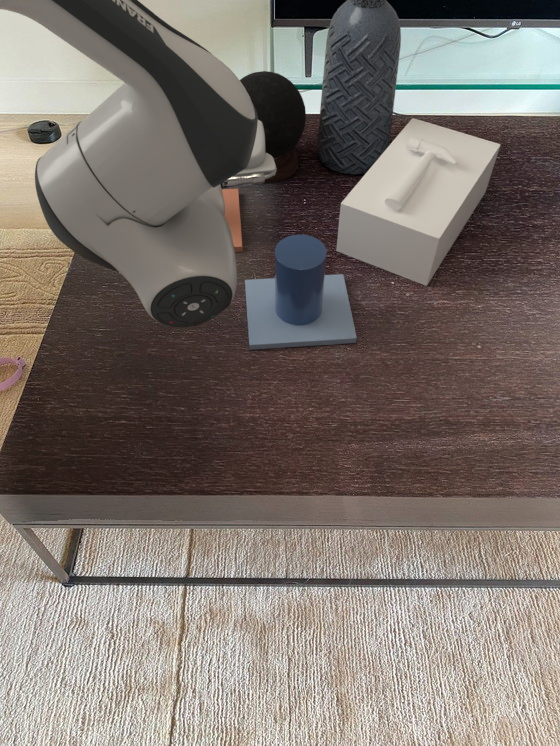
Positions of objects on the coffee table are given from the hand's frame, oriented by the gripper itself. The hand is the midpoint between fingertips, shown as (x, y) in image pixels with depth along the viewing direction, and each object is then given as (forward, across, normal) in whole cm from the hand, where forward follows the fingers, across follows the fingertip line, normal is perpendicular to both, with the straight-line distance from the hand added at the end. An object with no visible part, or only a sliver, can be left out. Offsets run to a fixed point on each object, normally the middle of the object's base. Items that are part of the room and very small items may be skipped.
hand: (165, 115), depth 69 cm
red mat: (+12, 0, +25) cm, 28 cm away
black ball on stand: (+26, -16, +25) cm, 39 cm away
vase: (+25, -31, +25) cm, 47 cm away
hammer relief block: (+6, -36, +25) cm, 44 cm away
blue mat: (-10, -14, +25) cm, 30 cm away
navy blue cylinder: (-10, -14, +24) cm, 29 cm away
